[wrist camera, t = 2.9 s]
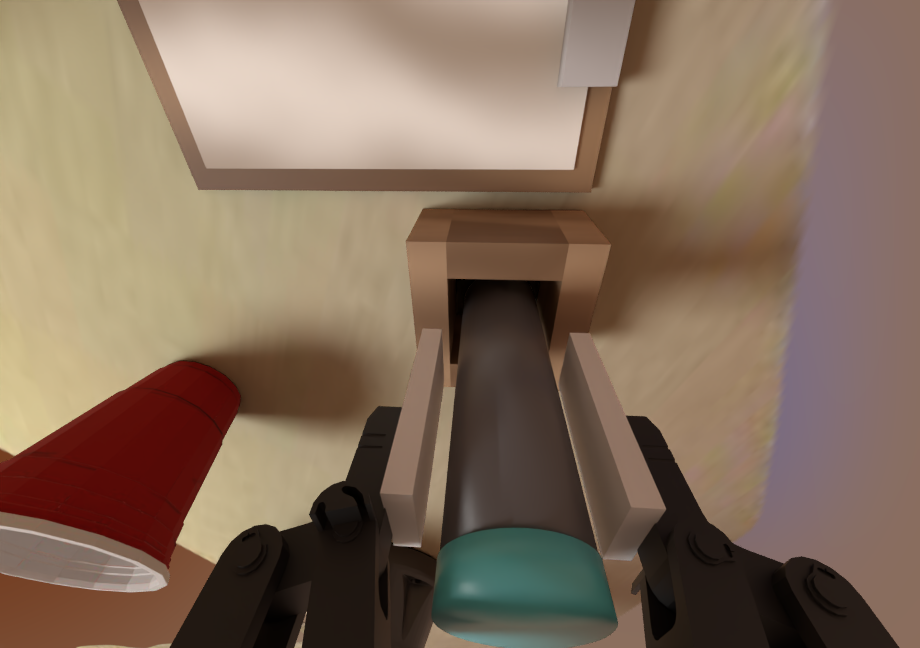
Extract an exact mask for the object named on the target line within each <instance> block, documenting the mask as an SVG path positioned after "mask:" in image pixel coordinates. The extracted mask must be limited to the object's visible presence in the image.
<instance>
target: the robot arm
mask: <svg viewBox="0 0 920 648" xmlns="http://www.w3.org/2000/svg"><path fill="white" fill-rule="evenodd" d="M558 385H559V389H560V393H561V397H562V401H563V405H564V409H565V413H566V417H567V421H568V425H569V429H570V432H571V436H572V440H573V444H574V448H575V452H576V456H577V460H578V464H579V468H580V472H581V476H582V480H583V484H584V488H585V492H586V496H587V500H588V504H589V508H590V512H591V516H592V520H593V524H594V528H595V532H596V536H597V540H598V544H599V548H600V552H601V556H602V559H610V560H626V561H632V559H633V558H634V556H635V555H636V553H637V552H638V554H639V557H640V560H641V563H642V566H643V570H642V571H641V572H640V574H639V575H638V576H637V578H636V579H635V580H634V582H633V583H632V590H631V593H632V594H634V595H636V594H637V593H638V591H639V590H640V591H641V601H642V611H643V621H644V631H645V641H646V648H899V646H898V645H897V644H896V642H895V641H894V640H893V638H892V637H891V636H890V634H889V633H888V632H887V630H886V629H885V628H884V626H883V625H882V623H881V622H880V621H879V619H878V618H877V617H876V615H875V614H874V613H873V611H872V610H871V608H870V607H869V606H868V604H867V603H866V602H865V600H864V599H863V598H862V596H861V595H860V594H859V593H858V592H857V591H856V590H855V588H854V587H853V586H852V585H851V584H850V583H849V582H848V581H847V580H846V579H845V578H843V577H842V576H841V575H839V574H838V573H837V572H836V571H834V570H833V569H832V568H830V567H828V566H826V565H824V564H822V563H821V562H819V561H817V560H814V559H810V558H806V557H802V556H801V557H795V558H791V559H790V560H789V561H787V562H786V563H784V564H783V563H781V562H778V561H775V560H773V559H770V558H767V557H765V556H762V555H759V554H756V553H754V552H751V551H748V550H746V549H744V548H741V547H739V546H737V545H735V544H733V543H732V542H731V541H730V540H729V538H728V537H727V536H726V535H725V534H724V533H723V532H722V531H720V530H719V529H718V528H716V527H715V526H714V525H712V524H710V523H709V522H708V521H707V519H706V518H705V516H704V515H703V513H702V511H701V509H700V507H699V505H698V504H697V502H696V500H695V498H694V496H693V494H692V492H691V490H690V488H689V486H688V484H687V482H686V480H685V478H684V476H683V474H682V473H681V471H680V469H679V467H678V465H677V463H675V459H674V457H673V455H672V453H671V451H670V449H668V445H667V443H666V442H665V440H664V438H663V436H662V434H661V432H660V430H659V429H658V428H657V427H656V426H655V425H654V424H653V423H652V422H651V421H650V420H649V419H648V418H647V417H645V416H626V415H625V413H624V411H623V408H622V406H621V404H620V402H619V399H618V397H617V395H616V392H615V390H614V388H613V385H612V383H611V381H610V379H609V376H608V374H607V372H606V369H605V367H604V365H603V362H602V360H601V358H600V356H599V353H598V351H597V349H596V346H595V344H594V342H593V339H592V337H591V335H590V333H569V338H568V342H567V347H566V351H565V356H564V360H563V365H562V369H561V374H560V378H559V383H558ZM443 386H444V362H443V341H442V329H424V328H423V329H422V333H421V337H420V341H419V345H418V348H417V352H416V356H415V360H414V364H413V368H412V372H411V375H410V379H409V383H408V387H407V391H406V395H405V398H404V402H403V406H402V407H384V406H378V407H377V408H376V410H375V411H374V412H373V413H372V414H371V415H370V416H369V418H368V419H367V422H366V425H365V428H364V430H363V435H362V436H361V439H360V442H359V444H358V448H357V450H356V453H355V456H354V458H353V461H352V464H351V467H350V470H349V472H348V475H347V478H346V481H342V482H339V483H336V484H333V485H331V486H330V487H328V488H327V489H326V490H324V491H323V492H322V493H321V494H320V495H319V496H318V498H317V499H316V500H315V502H314V503H313V506H312V508H311V511H310V514H309V515H310V517H311V519H312V521H313V522H310V523H308V524H304V525H301V526H297V527H294V528H290V529H287V530H283V531H280V532H279V531H278V530H277V529H276V527H274V526H270V525H267V524H264V525H258V526H254V527H252V528H250V529H247V530H245V531H243V532H242V533H241V534H239V535H238V536H237V537H236V538H235V539H234V540H232V541H231V542H230V544H229V545H228V547H227V548H226V549H225V551H224V552H223V553H222V555H221V557H220V558H219V560H218V562H217V564H216V566H215V568H214V570H213V571H212V573H211V575H210V577H209V578H208V580H207V582H206V584H205V585H204V587H203V589H202V591H201V593H200V594H199V596H198V598H197V600H196V601H195V603H194V605H193V607H192V609H191V611H190V612H189V614H188V616H187V618H186V619H185V621H184V623H183V625H182V627H181V628H180V630H179V632H178V634H177V635H176V638H175V639H174V641H173V643H172V644H171V646H170V648H294V646H295V643H296V640H297V637H298V635H299V632H300V629H301V626H302V623H303V620H304V617H305V614H306V611H307V615H306V622H305V629H304V637H303V643H302V648H424V647H425V644H426V641H427V638H428V635H429V633H430V630H431V627H432V624H433V620H432V618H431V613H432V603H433V593H434V583H435V573H436V564H437V561H435V560H434V559H432V558H431V557H429V556H427V555H425V554H423V553H421V552H418V551H415V550H412V549H409V548H405V547H401V546H407V547H421V544H422V537H423V530H424V522H425V515H426V508H427V501H428V494H429V486H430V479H431V472H432V465H433V458H434V450H435V443H436V436H437V429H438V422H439V414H440V407H441V400H442V393H443ZM392 540H393V544H394V545H391V541H392Z"/></svg>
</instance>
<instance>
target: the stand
mask: <svg viewBox="0 0 920 648" xmlns="http://www.w3.org/2000/svg"><path fill="white" fill-rule="evenodd" d="M406 247H407V257H408V267H409V276H410V286H411V296H412V305H413V315H414V325H415V334H416V344H417V348H418V345H419V341H420V337H421V333H422V329H423V328H424V329H442V341H443V362H444V387H456V378H457V368H458V358H459V347H460V337H461V326H462V316H463V315H456V279H494V280H540V286H539V293H538V300H537V308H538V312H539V316H540V320H541V324H542V328H543V332H544V336H545V340H546V344H547V348H548V352H549V356H550V360H551V364H552V368H553V373H554V377H555V381H556V385H557V389H558V391H560V389H559V385H558V383H559V378H560V374H561V369H562V365H563V360H564V356H565V351H566V347H567V342H568V338H569V333H588V332H589V329H590V325H591V321H592V317H593V313H594V309H595V306H596V302H597V298H598V294H599V290H600V286H601V283H602V279H603V275H604V271H605V267H606V264H607V260H608V256H609V252H610V248H611V243H610V242H609V241H608V240H607V239H606V237H605V236H604V235H603V234H602V233H601V231H600V230H599V229H598V228H597V227H596V225H595V224H594V223H593V222H592V220H591V219H590V218H589V217H588V216H587V214H586V213H585V212H584V211H583V210H483V209H423V210H422V212H421V214H420V215H419V217H418V219H417V221H416V223H415V225H414V227H413V229H412V231H411V233H410V235H409V237H408V238H407V240H406Z"/></svg>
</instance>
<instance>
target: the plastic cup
mask: <svg viewBox="0 0 920 648" xmlns="http://www.w3.org/2000/svg"><path fill="white" fill-rule="evenodd" d="M240 398H241V396H240V394H239V392H238V390H237V388H236V386H235V385H234V384H233V383H232V382H231V381H230V380H229V379H228V378H227V377H226V376H225V375H223V374H222V373H220V372H218V371H216V370H215V369H213V368H211V367H209V366H206V365H203V364H200V363H197V362H189V361H178V362H175V363H172V364H169V365H167V366H166V367H163V368H160V369H158V370H156V371H155V372H153V373H151V374H150V375H148V376H147V377H145V378H143V379H142V380H140V381H138V382H137V383H135V384H134V385H132V386H130V387H129V388H127V389H126V390H123V391H120V392H118V393H116V394H114V395H113V396H111V397H110V398H108V399H106V400H105V401H103V402H101V403H100V404H98V405H97V406H95V407H93V408H92V409H90V410H89V411H87V412H85V413H84V414H82V415H81V416H79V417H77V418H76V419H74V420H72V421H71V422H69V423H68V424H66V425H64V426H63V427H61V428H60V429H58V430H56V431H55V432H53V433H52V434H50V435H48V436H47V437H45V438H43V439H42V440H40V441H39V442H37V443H35V444H34V445H32V446H31V447H29V448H27V449H26V450H24V451H23V452H21V453H19V454H18V455H16V456H14V457H13V458H11V459H10V460H7V461H4V462H2V463H0V573H3V574H6V575H12V576H16V577H21V578H26V579H31V580H37V581H41V582H47V583H51V584H57V585H64V586H71V587H79V588H86V589H93V590H105V591H106V590H107V591H121V592H142V591H156V590H158V589H160V588H162V587H164V586H166V585H167V584H168V581H169V578H170V574H169V571H168V569H169V563H170V561H171V558H170V557H171V555H172V553H173V551H174V549H175V546H176V540H177V538H178V536H179V534H180V532H181V530H182V527H183V525H184V523H183V522H184V520H185V518H186V516H187V514H188V512H189V510H190V508H191V506H192V504H193V502H194V500H195V498H196V496H197V494H198V492H199V490H200V488H201V486H202V484H203V482H204V480H205V478H206V476H207V474H208V472H209V470H210V468H211V466H212V464H213V462H214V460H215V458H216V456H217V454H218V452H219V450H220V448H221V446H222V440H223V439H224V437H225V435H226V433H227V431H228V429H229V427H230V425H231V424H232V422H233V420H234V418H235V416H236V414H237V412H238V407H239V405H240Z"/></svg>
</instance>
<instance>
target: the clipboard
mask: <svg viewBox="0 0 920 648" xmlns="http://www.w3.org/2000/svg"><path fill="white" fill-rule="evenodd" d="M117 1H118V4H119V6H120V8H121V11H122V13H123V15H124V18H125V20H126V22H127V25H128V27H129V29H130V32H131V34H132V36H133V39H134V41H135V43H136V46H137V48H138V50H139V53H140V55H141V57H142V59H143V62H144V64H145V66H146V69H147V71H148V73H149V76H150V78H151V80H152V83H153V85H154V87H155V90H156V92H157V94H158V97H159V99H160V101H161V104H162V106H163V108H164V111H165V113H166V115H167V118H168V120H169V122H170V125H171V127H172V129H173V131H174V134H175V136H176V138H177V141H178V143H179V145H180V148H181V150H182V152H183V155H184V157H185V159H186V162H187V164H188V166H189V169H190V171H191V173H192V176H193V178H194V180H195V183H196V185H197V187H198V190H323V191H465V192H591V189H592V184H593V179H594V174H595V169H596V164H597V159H598V155H599V150H600V145H601V140H602V135H603V130H604V125H605V121H606V116H607V111H608V106H609V101H610V96H611V91H612V87H614V86H617V85H618V80H619V75H620V71H621V66H622V61H623V56H624V52H625V47H626V42H627V38H628V33H629V28H630V23H631V19H632V14H633V9H634V5H635V0H117Z"/></svg>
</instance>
